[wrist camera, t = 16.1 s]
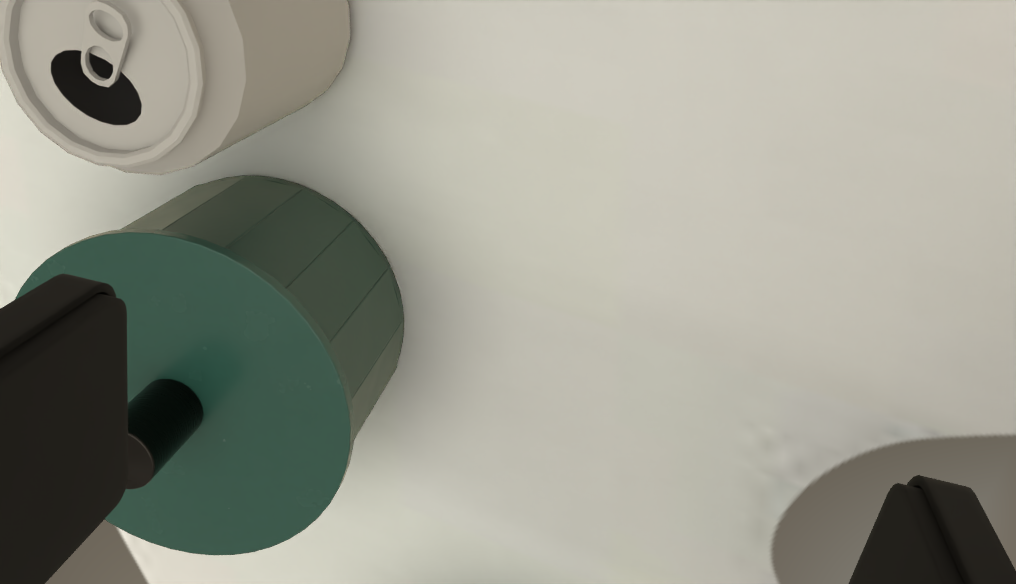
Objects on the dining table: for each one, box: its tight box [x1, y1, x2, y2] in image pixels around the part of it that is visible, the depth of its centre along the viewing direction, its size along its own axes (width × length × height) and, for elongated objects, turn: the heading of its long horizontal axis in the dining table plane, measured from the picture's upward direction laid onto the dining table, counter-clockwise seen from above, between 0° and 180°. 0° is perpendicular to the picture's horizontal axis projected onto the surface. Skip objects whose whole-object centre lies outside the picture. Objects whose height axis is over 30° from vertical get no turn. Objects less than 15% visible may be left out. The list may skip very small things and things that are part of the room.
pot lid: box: [15, 228, 354, 555], centre depth 32 cm, size 14×14×5 cm
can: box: [0, 0, 351, 175], centre depth 30 cm, size 8×8×12 cm
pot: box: [121, 176, 404, 439], centre depth 37 cm, size 13×13×8 cm
